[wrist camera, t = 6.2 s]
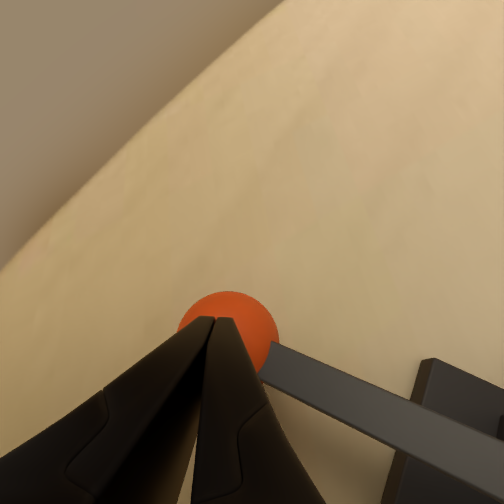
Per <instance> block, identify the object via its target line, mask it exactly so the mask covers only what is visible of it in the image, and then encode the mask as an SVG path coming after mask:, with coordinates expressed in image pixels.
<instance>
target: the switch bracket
mask: <svg viewBox="0 0 504 504" xmlns="http://www.w3.org/2000/svg"><path fill="white" fill-rule="evenodd" d="M410 401H412V402H414V403H416V404H419V405H421V406H423V407H426V408H428V409H430V410H432V411H435V412H437V413H439V414H442V415H444V416H446V417H449V418H451V419H453V420H455V421H458V422H460V423H462V424H465V425H467V426H469V427H472V428H474V429H476V430H478V431H481V432H483V433H485V434H488V435H490V436H492V437H495V438H497V439H499V440H501V441H504V389H502V388H500V387H498V386H496V385H493V384H491V383H489V382H487V381H485V380H482V379H480V378H478V377H476V376H474V375H471V374H469V373H467V372H465V371H463V370H461V369H458V368H456V367H454V366H452V365H450V364H447V363H445V362H443V361H441V360H439V359H437V358H430V359H425V360H422V361H421V364H420V368H419V371H418V375H417V378H416V382H415V385H414V389H413V392H412V396H411V399H410ZM381 504H502V503H500V502H498V501H496V500H494V499H492V498H490V497H488V496H486V495H484V494H482V493H480V492H478V491H476V490H474V489H472V488H470V487H468V486H466V485H464V484H462V483H460V482H458V481H456V480H454V479H452V478H450V477H448V476H446V475H444V474H442V473H441V472H439V471H437V470H435V469H433V468H431V467H429V466H427V465H425V464H423V463H421V462H419V461H417V460H415V459H413V458H411V457H409V456H407V455H405V454H403V453H401V452H399V451H397V450H396V452H395V455H394V459H393V462H392V466H391V469H390V473H389V476H388V480H387V483H386V487H385V490H384V494H383V497H382V501H381Z"/></svg>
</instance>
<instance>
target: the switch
mask: <svg viewBox="0 0 504 504" xmlns="http://www.w3.org/2000/svg"><path fill="white" fill-rule="evenodd" d="M201 315H202V316H214V317H215V319H217V318H218V317H231V318H233V319H234V321H235V324H236V326H237V328H238V331H239V333H240V335H241V337H242V340H243V342H244V344H245V347H246V349H247V351H248V354H249V356H250V358H251V360H252V363H253V365H254V367H255V370H256V372H257V374H258V377H259V379H260V381H261V383H262V384H263V383H265V384H267V385H269V386H271V387H273V388H275V389H277V390H279V391H281V392H283V393H285V394H287V395H289V396H291V397H293V398H295V399H297V400H299V401H301V402H302V403H304V404H306V405H308V406H310V407H312V408H314V409H316V410H318V411H320V412H322V413H324V414H326V415H328V416H330V417H332V418H334V419H336V420H338V421H340V422H342V423H344V424H346V425H348V426H350V427H352V428H354V429H356V430H358V431H360V432H362V433H364V434H366V435H368V436H370V437H371V438H373V439H375V440H377V441H379V442H381V443H383V444H385V445H387V446H389V447H391V448H393V449H395V450H397V451H399V452H401V453H403V454H405V455H407V456H409V457H411V458H413V459H415V460H417V461H419V462H421V463H423V464H425V465H427V466H429V467H431V468H433V469H435V470H437V471H439V472H441V473H442V474H444V475H446V476H448V477H450V478H452V479H454V480H456V481H458V482H460V483H462V484H464V485H466V486H468V487H470V488H472V489H474V490H476V491H478V492H480V493H482V494H484V495H486V496H488V497H490V498H492V499H494V500H496V501H498V502H500V503H502V504H504V441H501V440H499V439H497V438H495V437H492V436H490V435H488V434H485V433H483V432H481V431H478V430H476V429H474V428H472V427H469V426H467V425H465V424H462V423H460V422H458V421H455V420H453V419H451V418H449V417H446V416H444V415H442V414H439V413H437V412H435V411H432V410H430V409H428V408H426V407H423V406H421V405H419V404H416V403H414V402H412V401H410V400H407V399H405V398H403V397H400V396H398V395H396V394H393V393H391V392H389V391H387V390H384V389H382V388H380V387H377V386H375V385H373V384H370V383H368V382H366V381H364V380H361V379H359V378H357V377H354V376H352V375H350V374H347V373H345V372H343V371H341V370H338V369H336V368H334V367H331V366H329V365H327V364H324V363H322V362H320V361H318V360H315V359H313V358H311V357H308V356H306V355H304V354H302V353H299V352H297V351H295V350H292V349H290V348H288V347H285V346H283V345H281V344H279V335H278V330H277V327H276V324H275V322H274V320H273V318H272V316H271V315H270V313H269V312H268V310H267V309H266V308H265V307H264V306H263V305H262V304H261V303H260V302H259V301H257V300H255V299H254V298H252V297H250V296H248V295H246V294H242V293H238V292H232V291H225V292H218V293H214V294H211V295H208V296H206V297H204V298H202V299H201V300H199V301H198V302H196V303H195V304H194V305H193V306H192V307H191V308H190V309H189V310H188V311H187V312H186V314H185V315H184V317H183V318H182V320H181V322H180V324H179V327H178V330H177V332H178V331H180V330H181V329H182V328H184V327H185V326H186V325H187V324H189V323H190V322H191V321H193V320H194V319H195V318H197V317H198V316H201Z"/></svg>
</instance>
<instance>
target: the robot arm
mask: <svg viewBox="0 0 504 504" xmlns="http://www.w3.org/2000/svg"><path fill="white" fill-rule="evenodd" d="M197 434H198V435H197ZM196 437H197V445H196V454H195V464H194V474H193V483H192V493H191V503H190V504H326V503H325V501H324V499H323V498H322V496H321V495H320V493H319V491H318V490H317V488H316V486H315V485H314V483H313V482H312V480H311V478H310V477H309V475H308V473H307V472H306V470H305V469H304V467H303V465H302V464H301V462H300V460H299V459H298V457H297V455H296V454H295V452H294V450H293V448H292V447H291V445H290V443H289V441H288V440H287V438H286V436H285V434H284V432H283V430H282V428H281V426H280V424H279V422H278V420H277V417H276V415H275V413H274V411H273V408H272V406H271V404H270V403H269V400H268V397H267V395H266V393H265V390H264V388H263V386H262V383H261V381H260V379H259V377H258V374H257V372H256V370H255V367H254V365H253V363H252V360H251V358H250V356H249V354H248V351H247V349H246V347H245V344H244V342H243V340H242V337H241V335H240V333H239V331H238V328H237V326H236V324H235V321H234V319H233V318H231V317H218V318H217V319H215V317H214V316H202V315H201V316H198V317H197V318H195V319H194V320H193V321H191V322H190V323H189V324H187V325H186V326H185V327H184V328H182V329H181V330H180V331H178V332H177V333H176V334H174V335H173V336H172V337H170V338H169V339H168V340H166V341H165V342H164V343H162V344H161V345H160V346H158V347H157V348H156V349H154V350H153V351H152V352H150V353H149V354H148V355H146V356H145V357H144V358H142V359H141V360H140V361H138V362H137V363H136V364H135V365H133V366H132V367H131V368H129V369H128V370H127V371H125V372H124V373H123V374H121V375H120V376H119V377H117V378H116V379H115V380H113V381H112V382H111V383H109V384H108V385H107V386H105V387H104V388H103V391H102V390H100V391H99V392H97V393H96V394H95V395H93V396H92V397H91V398H89V399H88V400H87V401H85V402H84V403H82V404H81V405H80V406H78V407H77V408H76V409H74V410H73V411H71V412H70V413H69V414H67V415H66V416H64V417H63V418H62V419H60V420H58V421H57V422H55V423H54V424H52V425H51V426H49V427H48V428H46V429H45V430H43V431H42V432H40V433H39V434H37V435H36V436H34V437H33V438H31V439H30V440H28V441H26V442H25V443H23V444H22V445H20V446H19V447H17V448H16V449H14V450H12V451H11V452H9V453H8V454H6V455H5V456H3V457H1V458H0V504H177V501H178V497H179V494H180V491H181V487H182V484H183V481H184V477H185V474H186V471H187V467H188V464H189V460H190V457H191V454H192V450H193V447H194V444H195V440H196Z"/></svg>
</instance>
